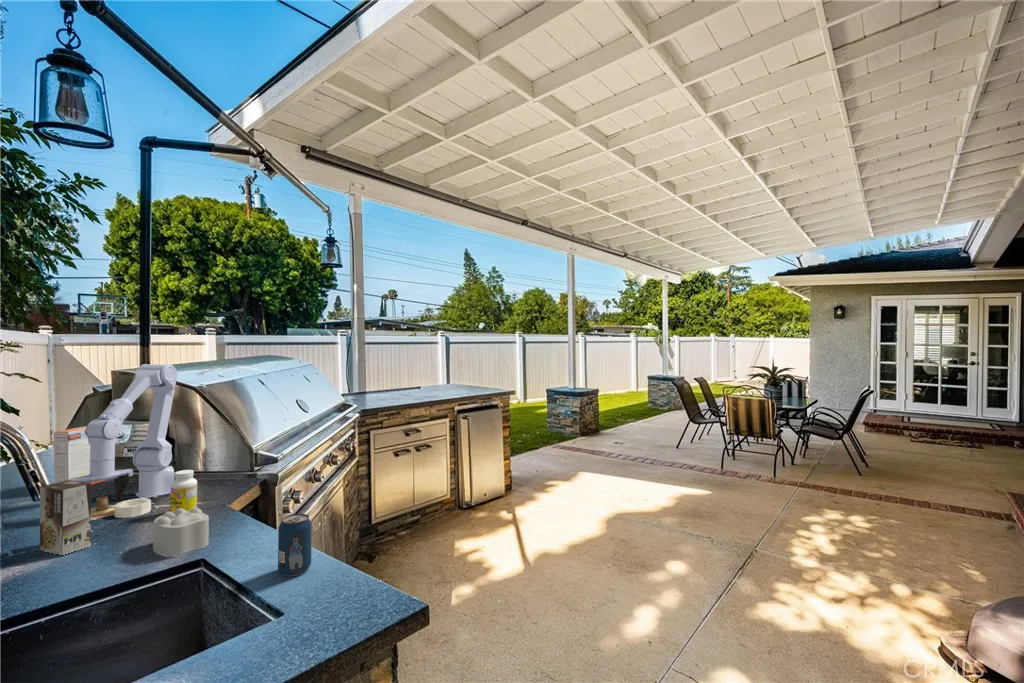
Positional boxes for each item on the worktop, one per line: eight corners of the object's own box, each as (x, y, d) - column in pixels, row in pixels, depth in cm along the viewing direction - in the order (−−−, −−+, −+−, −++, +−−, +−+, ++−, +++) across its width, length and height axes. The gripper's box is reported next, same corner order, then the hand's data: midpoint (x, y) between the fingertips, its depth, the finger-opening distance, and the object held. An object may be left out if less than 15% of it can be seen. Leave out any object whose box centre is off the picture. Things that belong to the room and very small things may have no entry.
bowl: (146, 507, 151) (146, 496, 151) (153, 514, 145) (154, 502, 145) (111, 515, 144) (111, 503, 144) (118, 521, 139) (118, 509, 139)
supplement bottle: (164, 516, 143) (165, 473, 143) (187, 509, 149) (187, 467, 150) (179, 519, 141) (180, 475, 141) (202, 512, 147) (202, 470, 147)
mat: (119, 506, 152) (119, 504, 152) (126, 513, 145) (126, 511, 145) (76, 514, 144) (76, 512, 144) (82, 523, 138) (82, 521, 138)
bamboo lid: (115, 506, 150) (115, 491, 150) (122, 511, 145) (122, 497, 145) (81, 512, 144) (81, 498, 144) (86, 519, 139) (87, 503, 139)
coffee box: (92, 546, 122) (93, 482, 122) (61, 557, 116) (62, 489, 116) (69, 541, 125) (70, 478, 125) (38, 551, 119) (38, 485, 119)
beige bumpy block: (169, 560, 115) (169, 523, 115) (143, 547, 122) (143, 513, 122) (214, 544, 124) (214, 510, 124) (187, 534, 131) (188, 502, 131)
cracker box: (91, 480, 179) (92, 424, 179) (106, 481, 178) (107, 424, 178) (52, 492, 165) (53, 431, 165) (68, 493, 164) (68, 431, 165)
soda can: (298, 561, 115) (299, 510, 115) (317, 568, 112) (318, 516, 112) (271, 573, 109) (271, 519, 109) (290, 580, 106) (291, 525, 106)
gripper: (126, 453, 153) (126, 496, 153) (66, 462, 141) (65, 508, 141) (135, 456, 149) (135, 500, 149) (74, 465, 137) (73, 513, 137)
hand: (101, 504), depth 144 cm, fingers open, 7 cm apart
